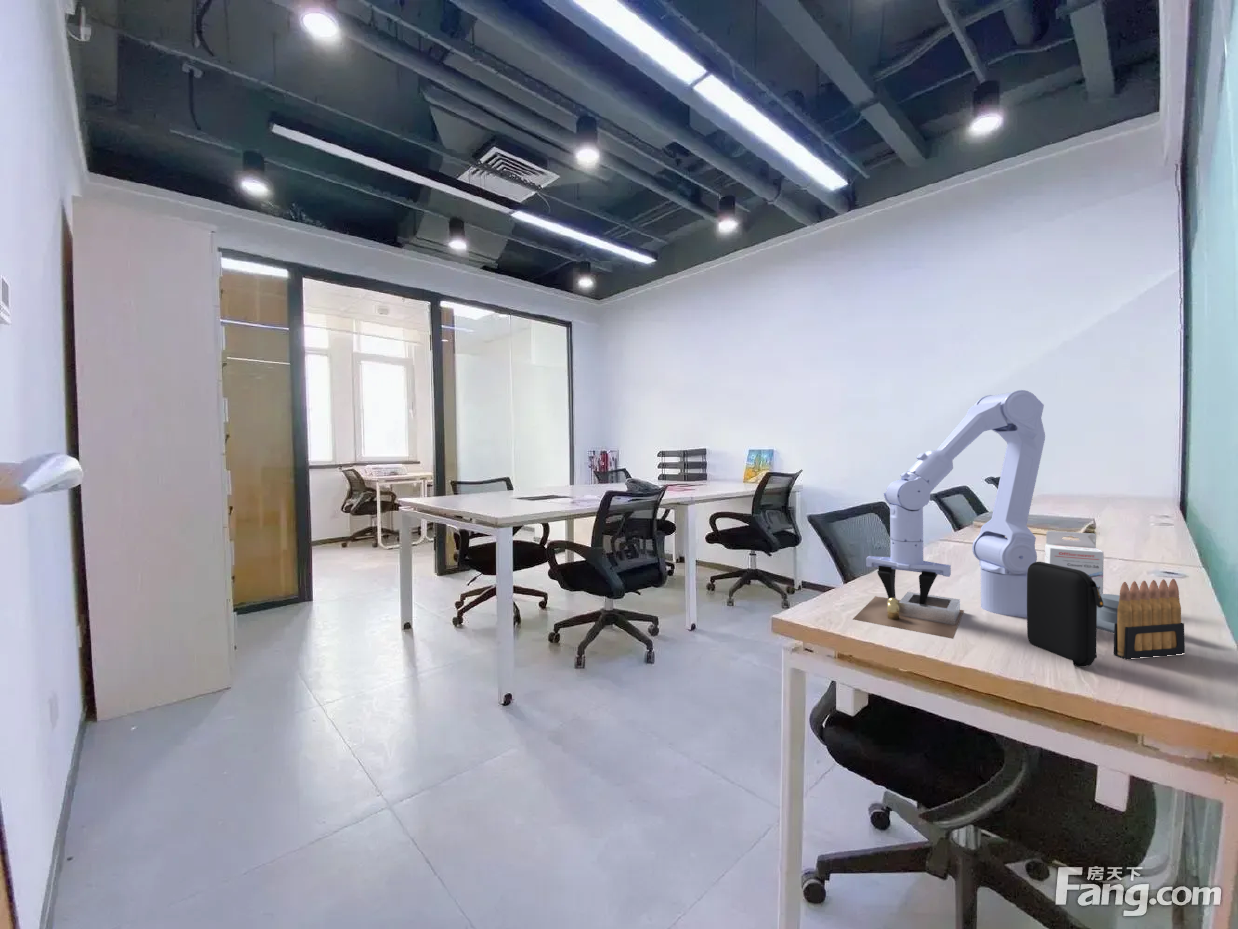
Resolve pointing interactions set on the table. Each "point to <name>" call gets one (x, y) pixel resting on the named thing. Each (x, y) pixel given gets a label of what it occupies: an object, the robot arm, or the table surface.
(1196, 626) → the table surface
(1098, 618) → the shower valve
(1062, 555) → the ink cartridge box
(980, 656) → the table surface
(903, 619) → the board
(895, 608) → the keeper post
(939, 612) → the steel link
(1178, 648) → the ammunition clip
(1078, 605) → the carrying case or bag
